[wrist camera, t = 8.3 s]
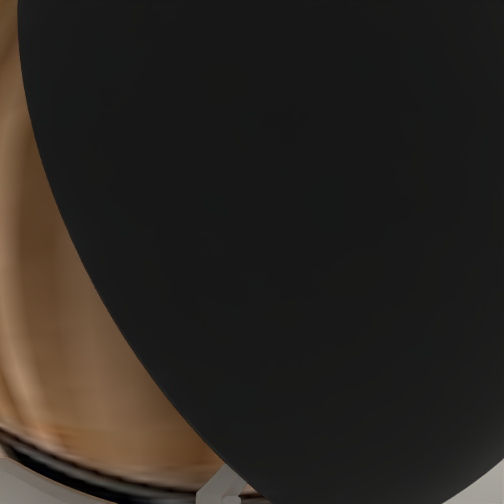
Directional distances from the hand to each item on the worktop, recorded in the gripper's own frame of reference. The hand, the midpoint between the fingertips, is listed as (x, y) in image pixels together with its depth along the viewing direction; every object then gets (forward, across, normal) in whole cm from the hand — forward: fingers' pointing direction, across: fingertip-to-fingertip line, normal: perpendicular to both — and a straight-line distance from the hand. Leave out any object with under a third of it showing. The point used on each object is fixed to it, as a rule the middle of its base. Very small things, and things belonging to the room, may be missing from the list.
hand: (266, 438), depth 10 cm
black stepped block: (+5, -1, -16) cm, 16 cm away
